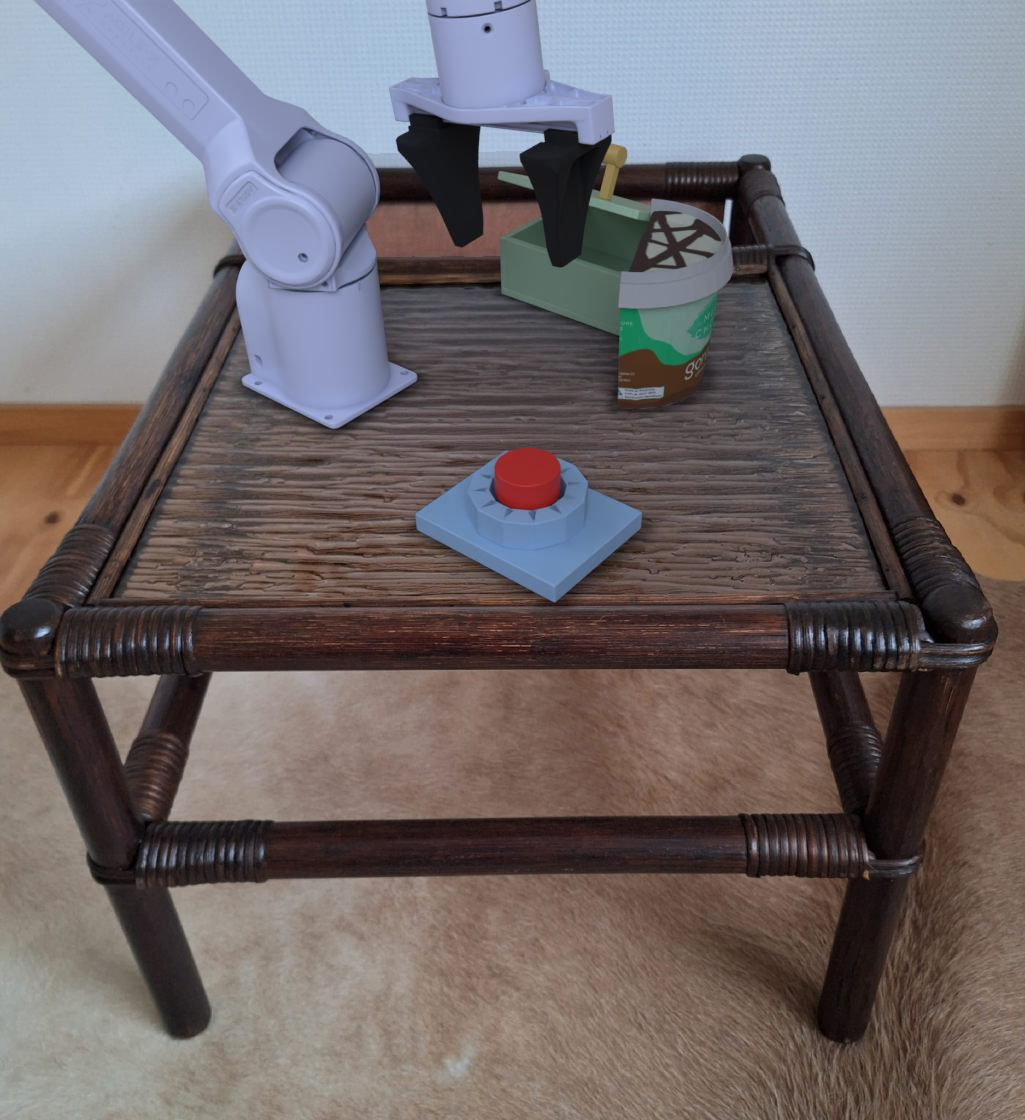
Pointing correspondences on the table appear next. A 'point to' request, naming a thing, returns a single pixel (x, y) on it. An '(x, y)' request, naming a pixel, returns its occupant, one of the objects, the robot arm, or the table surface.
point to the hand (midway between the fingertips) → (516, 250)
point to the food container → (670, 305)
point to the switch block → (531, 530)
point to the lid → (605, 196)
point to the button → (527, 479)
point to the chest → (573, 268)
